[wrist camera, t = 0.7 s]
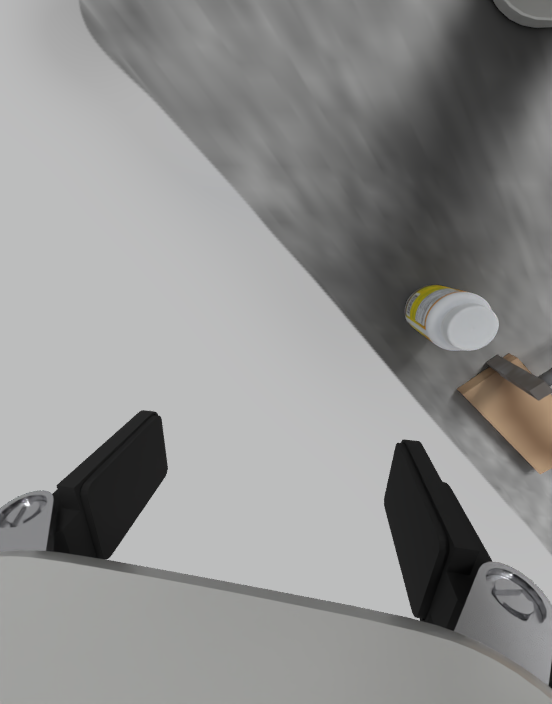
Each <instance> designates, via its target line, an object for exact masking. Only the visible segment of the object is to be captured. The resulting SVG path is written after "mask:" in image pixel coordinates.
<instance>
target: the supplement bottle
mask: <svg viewBox="0 0 552 704" xmlns="http://www.w3.org/2000/svg"><path fill="white" fill-rule="evenodd" d="M405 317H406V320H407V322H408V323H409V324H410V325H411V326H412V327H413V328H414V329H415V330H417V331H418V332H419V333H421V334H422V335H423V336H425V337H426V338H427V339H429V340H430V341H431V342H433V343H434V344H435V345H437V346H439V347H440V348H443V349H446V350H451V351H459V350H465V351H472V350H477V349H480V348H482V347H484V346H486V345H487V344H488V343H490V342H491V341H492V340H493V338H494V337H495V335H496V334H497V331H498V327H499V322H498V318H497V316H496V314H495V313H494V312H493V311H492V309H491V307H490V305H489V304H488V302H487V301H486V300H485V299H484V298H482V297H481V296H479V295H477V294H474V293H470V292H466V291H462V290H457V289H453V288H449V287H445V286H441V285H428V286H424V287H421V288H419V289H418V290H416V291H415V292H414V293H413V294H412V295H411V296H410V297H409V299H408V300H407V302H406V305H405Z"/></svg>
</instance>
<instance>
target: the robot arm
mask: <svg viewBox="0 0 552 704" xmlns="http://www.w3.org/2000/svg"><path fill="white" fill-rule="evenodd" d="M493 1H494V3H495V4H496V6H497V7H498V9H499V10H500V11H501V12H502V13H503V14H504V15H505V16H506V17H508V18H509V19H510V20H512V21H514V22H516V23H518V24H520V25H524V26H529V27H534V28H541V27H552V0H493ZM167 470H168V466H167V458H166V451H165V443H164V435H163V427H162V419H161V417H160V416H158V414H157V413H156V412H153V411H144V410H143V411H140V412H139V413H138V414H136V415H135V416H134V417H133V418H132V419H131V420H130V421H129V422H127V423H126V424H125V425H124V426H123V427H122V428H121V429H120V430H119V431H117V432H116V433H115V434H114V435H113V436H112V437H111V438H109V439H108V440H107V441H106V442H105V443H104V444H103V445H102V446H101V447H99V448H98V449H97V450H96V451H95V452H94V453H93V454H92V455H90V456H89V457H88V458H87V459H86V460H85V461H84V462H82V463H81V464H80V465H79V466H78V467H77V468H76V469H75V470H74V471H72V472H71V473H70V474H69V475H68V476H67V477H66V478H64V479H63V480H62V481H61V482H60V483H59V484H58V485H57V488H58V489H57V490H56V491H55V492H54V493H53V494H51V493H50V492H48V491H34V492H29V493H26V494H24V495H21V496H19V497H17V498H15V499H13V500H11V501H9V502H8V503H7V504H5V505H4V506H2V507H1V508H0V704H552V605H551V603H550V601H549V600H548V599H547V597H546V596H545V595H544V593H543V592H542V590H540V588H539V587H538V586H536V584H534V582H532V581H531V580H530V579H529V578H527V577H526V576H525V575H523V574H522V573H521V572H519V571H517V570H516V569H514V568H512V567H510V566H508V565H505V564H502V563H499V562H492V560H491V558H490V556H489V555H488V553H487V551H486V549H485V548H484V546H483V544H482V542H481V540H480V539H479V537H478V535H477V533H476V532H475V530H474V528H473V526H472V525H471V523H470V521H469V519H468V518H467V516H466V514H465V512H464V510H463V509H462V507H461V505H460V503H459V502H458V500H457V498H456V496H455V495H454V493H453V491H452V489H451V488H450V486H449V485H448V484H447V483H445V482H442V480H441V479H440V477H439V475H438V473H437V471H436V470H435V468H434V466H433V464H432V462H431V460H430V458H429V457H428V455H427V453H426V451H425V449H424V447H423V446H422V444H421V443H420V442H419V441H412V440H402V442H401V443H397V444H396V447H395V451H394V456H393V461H392V465H391V470H390V474H389V479H388V483H387V488H386V492H385V498H384V506H385V510H386V514H387V518H388V522H389V526H390V529H391V533H392V537H393V541H394V545H395V548H396V552H397V556H398V560H399V564H400V568H401V571H402V575H403V579H404V583H405V587H406V590H407V594H408V598H409V602H410V606H411V609H412V613H413V615H414V616H415V617H417V618H420V621H418V620H415V619H411V618H407V617H402V616H398V615H393V614H388V613H384V612H379V611H374V610H369V609H365V608H360V607H355V606H351V605H345V604H340V603H335V602H330V601H325V600H320V599H314V598H309V597H304V596H298V595H293V594H288V593H283V592H278V591H273V590H268V589H262V588H257V587H252V586H247V585H241V584H235V583H230V582H225V581H220V580H214V579H208V578H203V577H198V576H193V575H188V574H182V573H177V572H171V571H166V570H160V569H155V568H149V567H143V566H137V565H132V564H126V563H121V562H116V561H110V560H105V559H108V558H109V557H110V556H111V555H112V553H113V552H114V551H115V549H116V548H117V546H118V545H119V544H120V542H121V541H122V539H123V538H124V536H125V535H126V533H127V532H128V530H129V528H130V527H131V526H132V525H133V523H134V522H135V520H136V518H137V517H138V516H139V514H140V513H141V511H142V510H143V508H144V507H145V506H146V504H147V503H148V501H149V500H150V498H151V497H152V495H153V494H154V492H155V491H156V489H157V488H158V487H159V485H160V484H161V482H162V481H163V479H164V478H165V476H166V474H167Z"/></svg>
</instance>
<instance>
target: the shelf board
mask: <svg viewBox="0 0 552 704" xmlns="http://www.w3.org/2000/svg"><path fill="white" fill-rule="evenodd" d="M486 364H487V365H488V366H489V367H488V368H487V369H485V370H484V371H483V372H481V373H480V374H478V375H477V376H475V377H474V378H472V379H471V380H469V381H468V382H467V383H465V384H464V385H462V386H461V387H459V388H458V389H457V390H458V391H459V392H460V393H461V394H462V395H463V396H464V397H465V398H466V399H467V400H468V401H469V402H470V403H471V404H472V405H473V406H474V407H475V408H476V409H477V410H478V411H479V412H480V413H481V414H482V415H483V416H484V417H485V418H486V419H487V420H488V422H489V423H490V424H491V425H492V426H493V427H494V428H495V429H496V430H497V431H498V432H499V433H500V434H501V435H502V436H503V437H504V438H505V439H506V440H507V441H508V442H509V443H510V444H511V445H512V446H513V447H514V448H515V449H516V450H517V451H518V452H519V453H520V454H521V455H522V456H523V457H524V459H525V460H526V461H527V462H528V463H529V464H530V465H531V466H532V467H533V468H534V469H535V470H536V471H537V472H538V473H539V474H542V473H544V472H545V471H547V470H549V469H551V468H552V395H551V393H552V389H551V388H550V386H551V385H552V368H551V369H550V370H548V371H546V372H545V373H543V374H542V375H540V376H539V377H536V376H534V375H533V374H532V373H531V372H530V371H529V370H528V369H527V368H526V367H525V366H524V365H523V364H522V362H521V361H520V360H519V359H518V358H517V357H515V356H513V355H511V354H507V355H506V356H504V357H503V358H502V357H500V356H499V355H496V356H495V357H493V358H492V359H490V360H489V361H487V362H486Z"/></svg>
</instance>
